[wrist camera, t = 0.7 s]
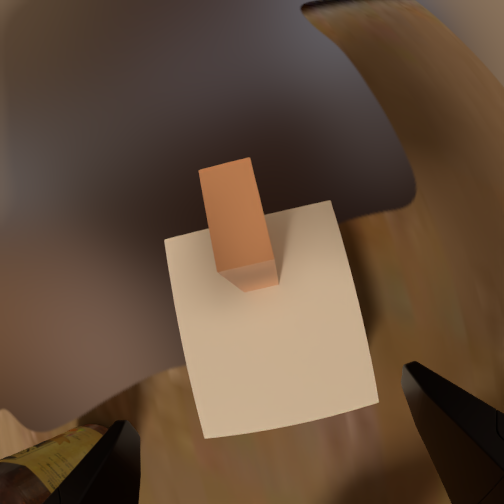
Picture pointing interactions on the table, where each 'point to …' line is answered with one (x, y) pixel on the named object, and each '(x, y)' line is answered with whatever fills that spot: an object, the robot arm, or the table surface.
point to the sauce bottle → (45, 465)
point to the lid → (267, 311)
